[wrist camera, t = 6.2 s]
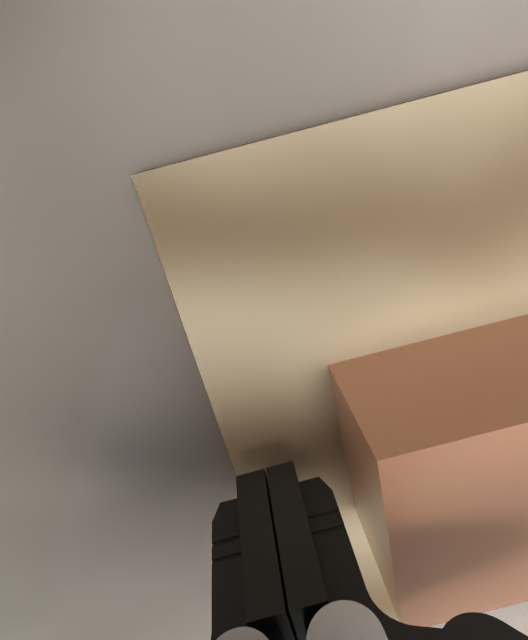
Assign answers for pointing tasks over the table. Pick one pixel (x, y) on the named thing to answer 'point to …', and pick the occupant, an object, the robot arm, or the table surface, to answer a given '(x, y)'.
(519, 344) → the peach rectangular block
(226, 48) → the table surface
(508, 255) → the beige wooden board
